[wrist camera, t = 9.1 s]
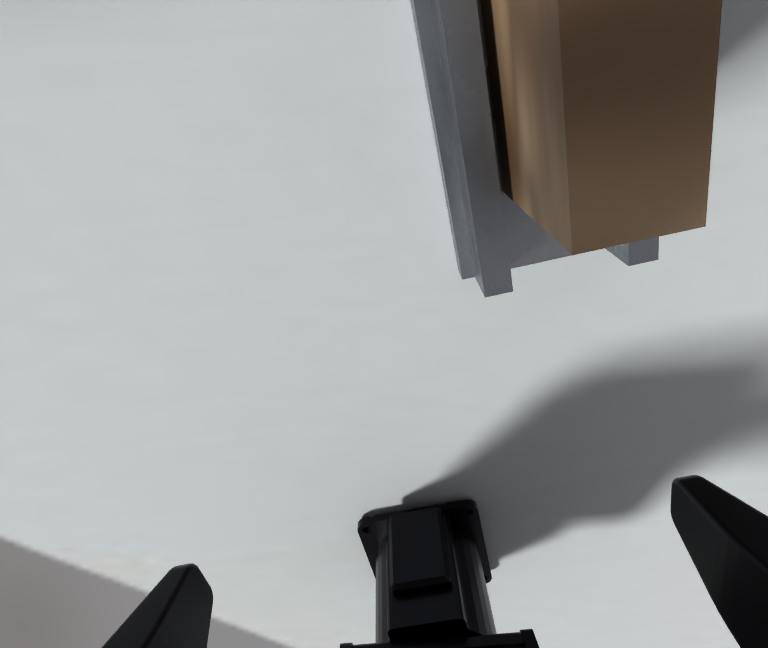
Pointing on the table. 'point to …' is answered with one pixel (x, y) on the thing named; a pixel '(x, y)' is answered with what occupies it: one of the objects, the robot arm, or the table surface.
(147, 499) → the table surface
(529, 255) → the floor track
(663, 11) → the brown wooden block
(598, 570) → the table surface
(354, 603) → the table surface
